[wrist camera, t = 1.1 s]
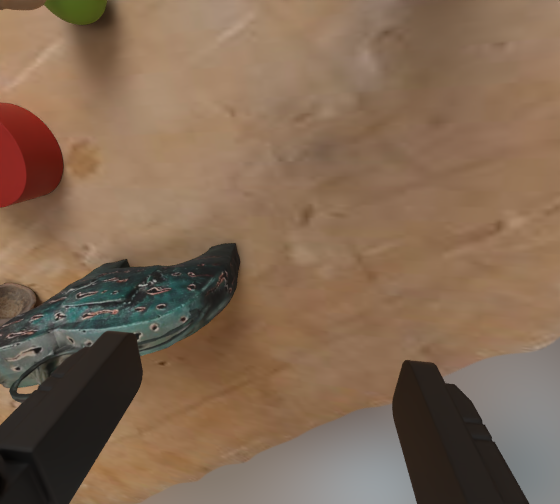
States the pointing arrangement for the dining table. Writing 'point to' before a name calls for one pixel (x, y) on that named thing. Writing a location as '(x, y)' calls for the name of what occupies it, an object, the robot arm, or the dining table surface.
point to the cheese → (26, 156)
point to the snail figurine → (63, 8)
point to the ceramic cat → (117, 313)
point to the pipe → (15, 301)
